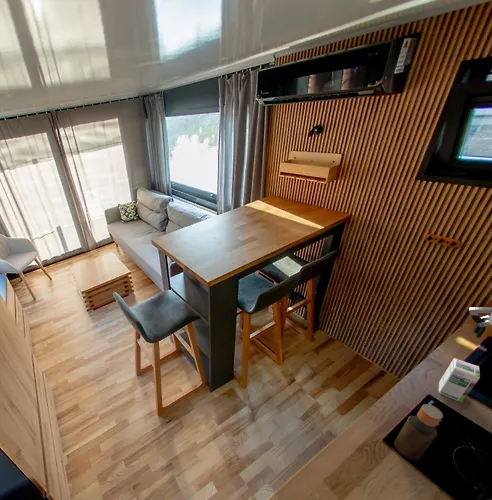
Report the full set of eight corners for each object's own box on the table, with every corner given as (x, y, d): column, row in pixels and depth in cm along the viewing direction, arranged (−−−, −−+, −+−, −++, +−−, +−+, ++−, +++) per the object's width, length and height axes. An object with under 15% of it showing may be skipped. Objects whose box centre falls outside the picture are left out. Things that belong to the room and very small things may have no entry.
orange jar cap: (437, 417, 73) (442, 410, 71) (437, 429, 71) (443, 421, 69) (417, 409, 76) (422, 401, 74) (417, 420, 74) (421, 412, 72)
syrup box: (438, 393, 94) (454, 368, 87) (438, 381, 98) (454, 356, 91) (461, 403, 90) (480, 377, 84) (461, 391, 94) (479, 365, 87)
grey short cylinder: (432, 425, 75) (437, 417, 73) (432, 436, 73) (437, 429, 71) (413, 416, 78) (417, 408, 76) (412, 427, 75) (417, 420, 74)
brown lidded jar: (420, 447, 82) (437, 424, 75) (419, 465, 78) (437, 442, 72) (394, 434, 86) (408, 411, 79) (393, 450, 82) (407, 427, 75)
